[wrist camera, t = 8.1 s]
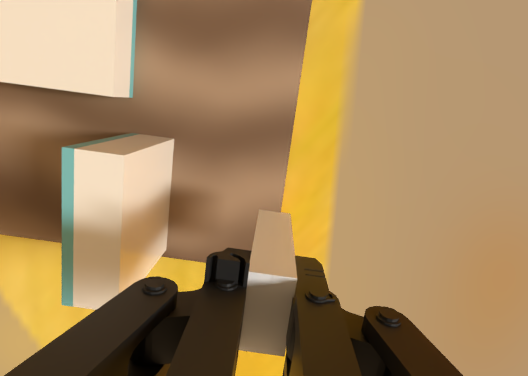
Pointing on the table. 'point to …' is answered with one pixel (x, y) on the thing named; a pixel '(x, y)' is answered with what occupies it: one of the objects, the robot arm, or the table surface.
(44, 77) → the tile
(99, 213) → the tile
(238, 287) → the robot arm
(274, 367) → the table surface
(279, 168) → the walnut board
